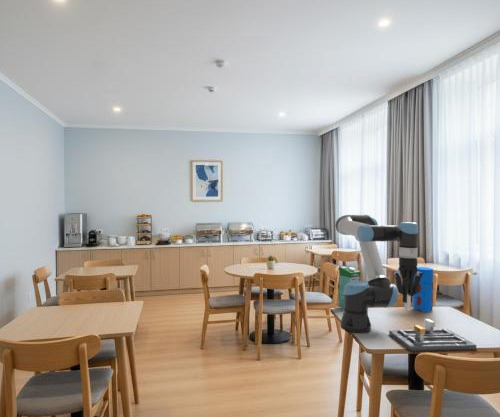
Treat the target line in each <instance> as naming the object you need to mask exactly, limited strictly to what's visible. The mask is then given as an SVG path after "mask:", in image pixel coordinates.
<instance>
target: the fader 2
mask: <svg viewBox="0 0 500 417" xmlns="http://www.w3.org/2000/svg"><path fill="white" fill-rule="evenodd" d="M435 323H436V322H435V321H433V320H431V319H430V318H423V324H424V329H425V332H426V333H428V334H433V330H434V328H435V327H436V324H435Z"/></svg>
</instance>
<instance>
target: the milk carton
mask: <svg viewBox="0 0 500 417" xmlns="http://www.w3.org/2000/svg"><path fill="white" fill-rule="evenodd" d="M338 269H339V270H338V275H339V276H338V277H339V278H338V282H339V283H338V308H341V309H343V308H344V289H345V285H346V284H347V283H348V282H352V281H362V280H361V278H362V277H361V276H362V275H361V274H362V273H361V271H360V270H359V269H357V268H355V267H353V266H351V265H345V266H339V268H338Z"/></svg>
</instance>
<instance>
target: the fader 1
mask: <svg viewBox="0 0 500 417" xmlns="http://www.w3.org/2000/svg"><path fill="white" fill-rule="evenodd" d="M413 330H415V339H416V340H417V341H419V342H424V334H425V327H423V326H421V325H420V324H415V325H413Z"/></svg>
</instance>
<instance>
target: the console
mask: <svg viewBox="0 0 500 417" xmlns="http://www.w3.org/2000/svg"><path fill="white" fill-rule="evenodd" d="M388 334H389V336H390V337H391V338H393V339H394V340H396V341H397V342H398V343H400V344H401V345H403V347H405V348H406V349H408V350H409V351H410V352H423V351H425V352H427V351H428V352H429V351H430V352H431V351H468V350H469V351H471V350H472V351H473V350H477V344H476V343H473V342H472V341H469V340H468V339H466V338H464V337H463V336H461V335H459V334H457V333H455V332H453V331H452V330H450V329H448V328H447V329H445V328H442V329H433V334H428V333H426V332H425V334H424V342H419V341H417V340H416V339H415V330H414V329H400V328H399V329H398V330H397V329H395V330H393V329H392V330H391V329H390V330H388Z"/></svg>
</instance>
